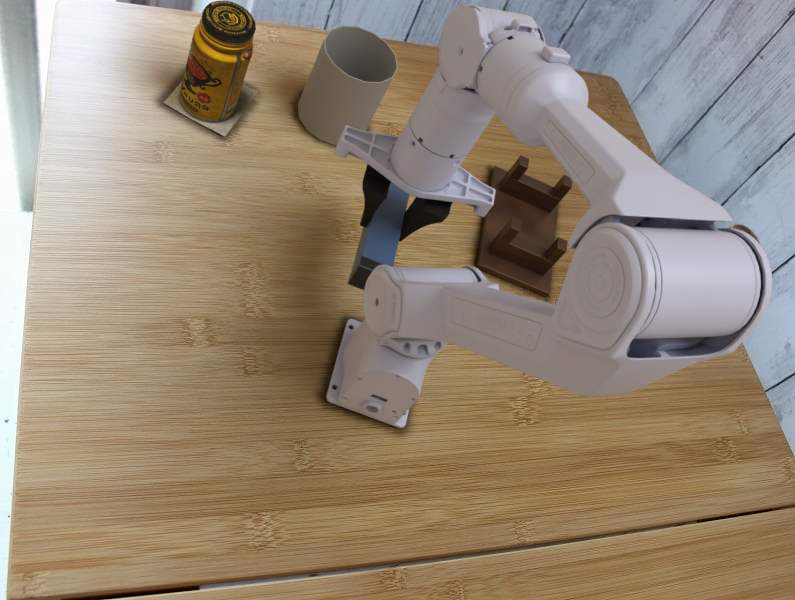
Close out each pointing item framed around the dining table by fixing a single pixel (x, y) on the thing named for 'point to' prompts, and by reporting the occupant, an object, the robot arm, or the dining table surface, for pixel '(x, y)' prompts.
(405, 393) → the robot arm
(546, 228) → the holder
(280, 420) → the dining table surface
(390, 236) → the handle
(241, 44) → the condiment
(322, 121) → the cup
